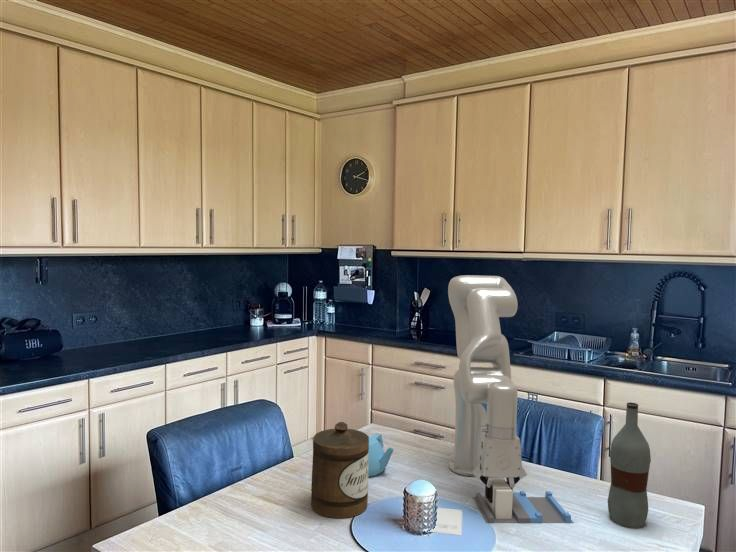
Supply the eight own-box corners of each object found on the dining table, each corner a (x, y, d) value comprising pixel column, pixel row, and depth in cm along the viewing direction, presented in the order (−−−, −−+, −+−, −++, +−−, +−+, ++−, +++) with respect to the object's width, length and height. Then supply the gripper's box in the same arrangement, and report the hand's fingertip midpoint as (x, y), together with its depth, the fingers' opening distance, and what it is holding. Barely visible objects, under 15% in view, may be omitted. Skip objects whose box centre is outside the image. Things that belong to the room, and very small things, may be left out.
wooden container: (355, 523, 133) (357, 435, 132) (301, 512, 138) (302, 427, 137) (375, 498, 147) (377, 418, 146) (325, 488, 152) (327, 411, 151)
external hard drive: (462, 516, 139) (461, 541, 127) (430, 512, 141) (426, 537, 128) (462, 510, 139) (462, 534, 127) (430, 506, 141) (427, 530, 128)
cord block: (485, 500, 145) (486, 474, 145) (500, 500, 145) (501, 474, 145) (495, 519, 135) (496, 491, 135) (511, 518, 135) (512, 491, 135)
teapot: (394, 478, 160) (395, 442, 159) (344, 482, 157) (345, 445, 156) (381, 458, 175) (382, 425, 174) (335, 461, 171) (336, 428, 171)
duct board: (472, 499, 147) (472, 490, 147) (552, 500, 148) (552, 490, 148) (486, 526, 133) (486, 515, 133) (574, 526, 134) (574, 515, 134)
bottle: (640, 513, 141) (646, 400, 140) (653, 531, 132) (659, 410, 131) (602, 509, 143) (607, 397, 142) (612, 527, 134) (617, 407, 133)
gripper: (472, 435, 135) (469, 507, 136) (538, 436, 136) (535, 507, 137) (465, 425, 143) (463, 494, 143) (528, 426, 143) (525, 494, 144)
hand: (498, 499), depth 140 cm, fingers closed on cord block, 4 cm apart
